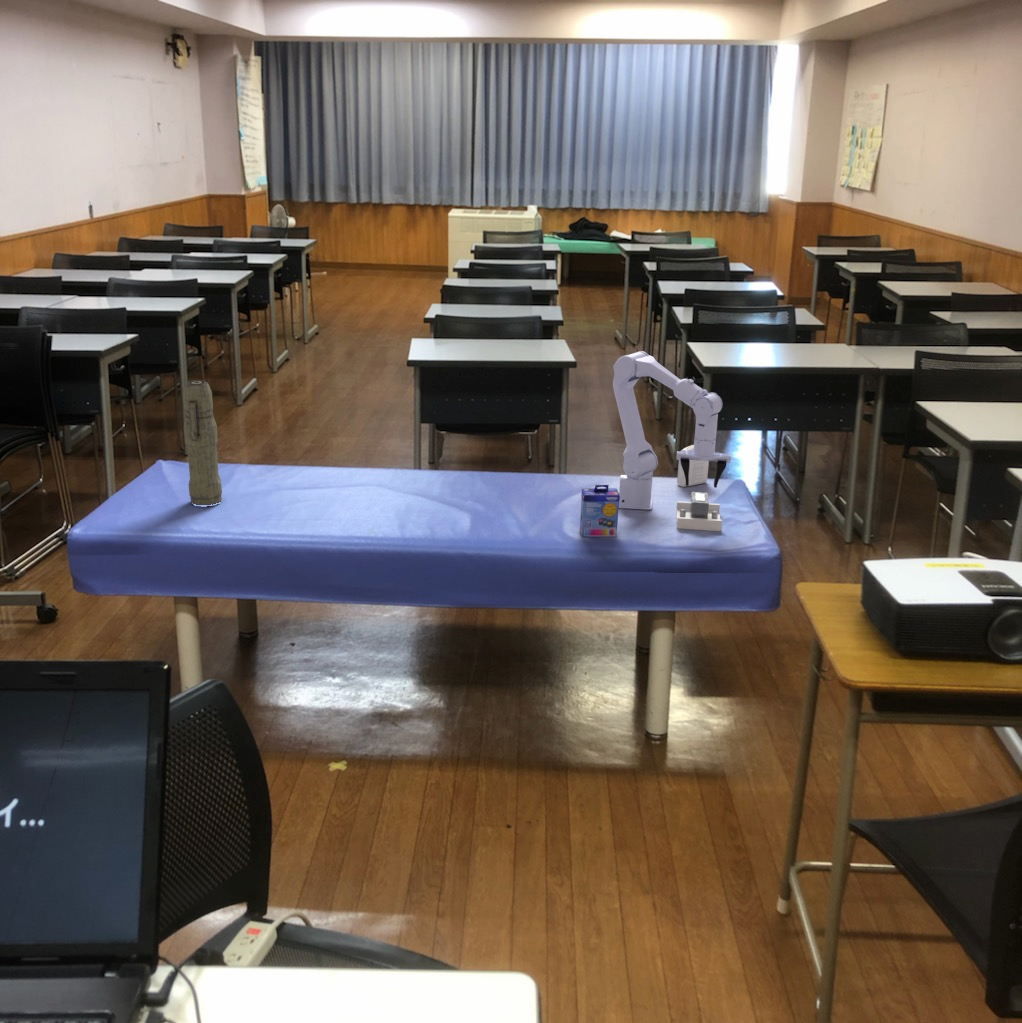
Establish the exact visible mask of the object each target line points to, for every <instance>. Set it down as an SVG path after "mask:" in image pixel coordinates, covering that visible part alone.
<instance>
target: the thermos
mask: <svg viewBox="0 0 1022 1023" xmlns="http://www.w3.org/2000/svg"><path fill="white" fill-rule="evenodd" d="M182 395H183V405H184V407H183V408H184V411H185V415H184V417H185V418H184V424H183V434H184V435H183V436H184V444H185V446H186V448H187V460H188V470H189V481H188V492H189V493H188V494H189V497H190V503H191V502H192V503H193V504H196V505H211V504H212V505H213V504H216V503H219V502H221V500H222V501H223V497H222V494H223V490H222V489H223V487H222V485H223V484H222V481H221V480H222V479H221V477H220V474H219V463H218V449H217V445H218V442H219V439H218V426H217V422H216V420H215V417H214V415H215V414H214V413H213V412H214V411H213V410H214V408H213V407H214V404H213V403H214V402H213V392H212V389H211V387H210V384H209V383H208V382H207V381H205V380H201V379H198V380H197V379H196V380H195V379H194V380H190V381H188V382H186V383H185V384H184V388H183V391H182Z"/></svg>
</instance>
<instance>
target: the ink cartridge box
mask: <svg viewBox="0 0 1022 1023" xmlns="http://www.w3.org/2000/svg"><path fill="white" fill-rule="evenodd" d="M602 487H603V488H602ZM619 499H620V495H619V490H618V488H613V487H611V488H609V484H595V486H594V487H591V488H590V487H589V488H581V502H580V519H579V520H580V521H579V531H580V536H581V538H592V537H593V538H600V537H601V538H605V537H609V538H616V537H617V536H618V526H619V525H618V524H619V523H618V522H619V521H618V520H619V509H620V508H619Z"/></svg>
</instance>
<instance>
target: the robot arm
mask: <svg viewBox="0 0 1022 1023" xmlns="http://www.w3.org/2000/svg"><path fill="white" fill-rule="evenodd" d="M613 371H614V372H613V380H612V389H613V393H614V398H615V401H616V404H617V410H618V414H619V418H620V422H621V427H622V430H623V434H624V439H625V443H626V446H625V449H624V451H623V453H622V455H623V464H622V467H623V471H624V473H625V474H620V478H619V479H620V480H619V490H618V493H619V495H620V499H619V509H629V510H630V509H631V510H643V511H644V510H649V511H651V510H652V508H653V499H652V489H653V477H654V476H653V475H654V471H655V470H656V469H657V467H658V465H659V460H658V456H657V455H656V453H655V452H654V449H653V447H652V445H651V443H649V442H648V441H646V438H645V432H644V429H643V425H642V424H643V423H642V419H641V415H640V410H639V406H638V403H637V399H636V394H635V391H634V387H635V386H636V384H637V382H638V381H639V380H640V378H642V377H649V378H652V379H653V380H656V381H657V382H659V383H661V385H664V386H666V387H668V388H669V389H670V390H672V391H673V395H674V398H677V399H678V400H679V401H681V402H683V403H684V404H685V405H686V406H688V407H690V408H691V409H692V411H693V413H694V415H695V428H694V430H695V431H694V440H693V445H694V451H681V450H680V451H677V450H676V460H677V461H679V460H680V462H681V466H682V468H683V471H684V475H685V479H686V486H685V487H689V486H688V485H689V466H690V460H700V461H709V462H716V464H715V474H714V480H713V487H714V488H717V487H718V484H719V480H720V478H721V477H722V474H723V472H724V471H725V470H726V468H727V464H731V461H732V460H731V459H732V455H731V454H728V453H722V452H716V442H717V441H716V440H717V430H718V419H719V418H718V417H719V414H718V413H720V412H721V411H722V409H723V400H722V398H721V396H719V395H718V393H717V392H708V390H707V389H705V388H701V386H698V385H697V384H696V383H694V382H695V381H694V380H693V379H692V378H689V379H688V378H682V379H680V378H679V377H677V376H676V375H675V374H674V373H672V372H671V371H670V370H669V369H667V368H666V367H664V366H663V365H661V364H660V363H659V362H658V361H657V360H656V359H655V357H654V356H652V355H649V354H648V353H647V352H645V351H643V350H639V351H636V352H633V353H631V354H626V355H621V356H620V357H618V358H617V360H616V361H615V363H614V364H613Z"/></svg>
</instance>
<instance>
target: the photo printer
mask: <svg viewBox="0 0 1022 1023" xmlns="http://www.w3.org/2000/svg"><path fill="white" fill-rule="evenodd" d="M680 451H694V444H691V445H689V446H686V447H684V448H683V449H681V450H680ZM709 462H710V461H700V460H690V466H689V485H688V486H686V479H685V475H684V471H683V468H682V466H681V462H680V460H678V467H677V468H678V469H677V479H676V481H677V482H676V483H677V486H679V487H682V488H684V487H691V486H698V485H702V484H706V483H707V482H708V476H709V475H708V473H709V464H710V463H709Z"/></svg>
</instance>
